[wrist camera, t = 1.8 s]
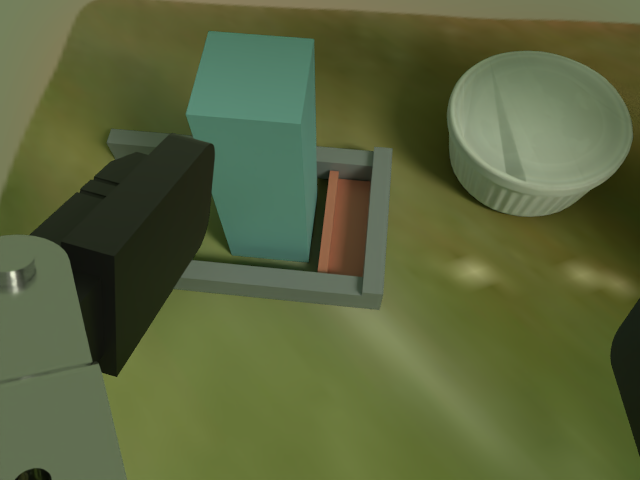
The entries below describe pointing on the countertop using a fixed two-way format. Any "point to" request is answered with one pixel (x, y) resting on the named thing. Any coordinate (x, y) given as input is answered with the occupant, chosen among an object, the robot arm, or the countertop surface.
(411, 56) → the countertop surface
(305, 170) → the teal block
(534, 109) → the ramekin
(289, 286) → the grey rectangular frame
